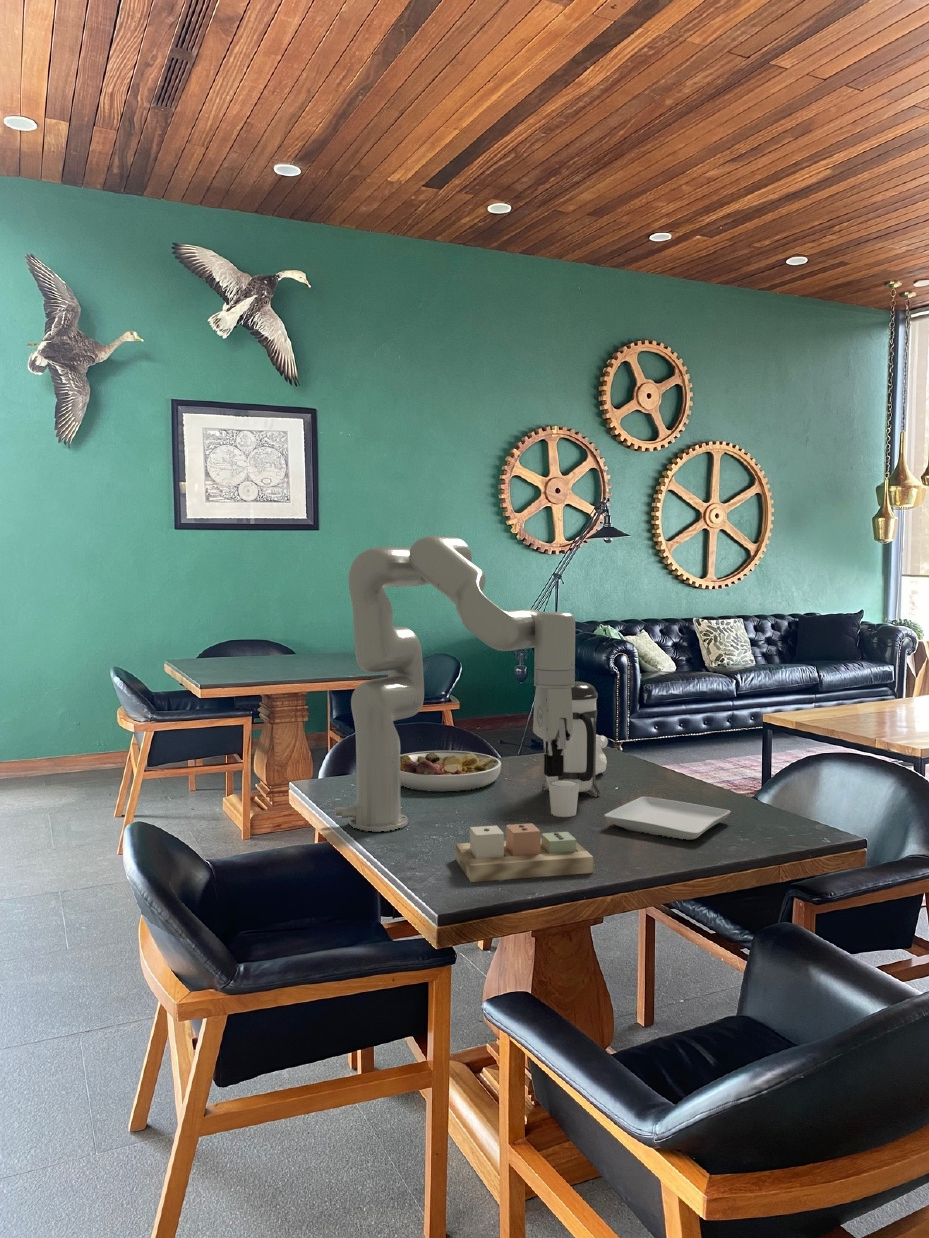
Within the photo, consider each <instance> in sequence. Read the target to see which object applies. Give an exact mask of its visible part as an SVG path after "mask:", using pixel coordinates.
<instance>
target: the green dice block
mask: <svg viewBox="0 0 929 1238" xmlns="http://www.w3.org/2000/svg"><path fill="white" fill-rule="evenodd" d="M576 842H577V839H576V838H575V837H574V836H573V835H571V833H570V832H568V831H561V832H560V831H557V832H543V833H542V832H541V847H542V848H543V849H544V850H545V851H546V852H547V853H548V854H550V853H564V852H576Z"/></svg>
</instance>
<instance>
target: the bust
mask: <svg viewBox="0 0 929 1238" xmlns="http://www.w3.org/2000/svg"><path fill="white" fill-rule="evenodd" d="M608 743H609V740H608V738H607V737H606V736H604V735H602V734H601V735H599V734H596V775H595V776H597V775H599V774H602V773H603V772H605V771H606V769H607V764H608V762H607V760H608V759H607V757H606V755H605V753H604V751H603V750H602V748H603V749H604V748H606V747H607V746H608Z"/></svg>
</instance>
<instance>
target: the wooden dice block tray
mask: <svg viewBox="0 0 929 1238" xmlns="http://www.w3.org/2000/svg"><path fill="white" fill-rule="evenodd" d="M455 861H456V862H457V863H458V865H459V866H460V868H461V870H462V871H463V872H464V874H465V875H466V877H467V879H469V881H470V883H475V882H485V881H486V882H489V881H500V880H503V881H504V880H516V879H517V880H518V879H526V878H527V879H528V878H529V879H530V878H541V877H542V878H543V877H554V876H556V877H557V876H568V875H580V874H581V875H582V874H583V875H584V874H593V873H594V856H593V855H592V854H591V853H590V852H588V850H587V849H585V848H584V847H583V846H582V845H581V844H580V843H578V842H577V841H576V852H564V853H550V854H548V853H547V852H546V851H545V850H544V849H543V848H542V847H541V841H540V854H536V855H521V856H511V855H510V853H509V852H508V851H507V850H506V839H504V857H492V858H478V859H474V857H473V856H472V854H471V853H470V842H461V843H455Z"/></svg>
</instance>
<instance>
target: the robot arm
mask: <svg viewBox="0 0 929 1238" xmlns="http://www.w3.org/2000/svg"><path fill="white" fill-rule="evenodd" d="M472 562H473V556H472V551H471V549H470V547H469V546H468V544H467V543H466V542H465V541H464V540H463V539H461V538H459V537H456V536H442V535H441V536H439V535H438V536H437V535H429V536H424V537H421V538H419V539H417V540H416V541H415V542H413V544H412V545H411V546H410V547H404V546H403V547H401V546H400V547H399V546H377V547H373V548H367V549H366V550H363V551H362V552H360V553H359V554H358V555H357V556H356V557H355V558H354V560H353V561H352V563H351V566H350V568H349V571H348V590H349V596H350V600H351V606H352V615H353V617H352V621H353V622H352V623H353V624H352V625H353V640H354V652H355V653H354V654H355V660H356V663H357V666H358V667H359V668H360V670H362V671H363V672H366V673H372V674H373V673H374V674H375V673H383V672H384V673H385V672H387V673H388V674H387V675H388V676H387V677H386V676H385V677H381V678H374V679H370V680H367V681H366V680H365V681H364V682H361V684H359V685H358V686H356V688H355V689H354V690H353V692H352V695H351V699H350V706H351V713H352V718H353V722H354V723H353V724H354V729H355V733H354V734H355V754H356V756H355V759H356V769H355V770H356V775H355V779H356V781H355V782H356V801H353V805H352V804H351V805H349V807H346V806H345V807H343V806H340V807H339V806H338V807H334V817H335V818H336V817H337V818H338V817H341V818H342V819H347V818H349V821H348V822H349V824H350V825H351V826H352V827H353V828H352V827H351V826H350V825H349V824H348V825H349V826H350V827H351V828H352V829H354V828H358V829H361V830H365V831H364V832H368V831H372V832H373V833H374V832H375V833H376V832H377V833H381V831H384V832H391V831H390V830H392V831H396V830H395V829H397V830H399V829H398V828H400V829H402V828H405V827H406V826H407V825H408V823H409V821H408V820H409V819H408V816H407V815H405V814H403V813H401V810H402V809H401V802H402V801H401V791H402V790H401V789H402V788H401V787H402V786H401V784H400V755H401V739H400V736H399V734H398V733H399V732H398V730H397V728H396V726H395V724H394V722H395V721H398V720H404V719H407V718H411V717H414V716H415V715H417V714H418V713H419V712H420V710H421V709H422V707H423V705H424V701H425V699H424V698H425V681H424V663H423V650H422V645H421V643H420V640H419V638H418V636H417V635H416V633H415V632H414V631H412V630H411V629H410V628H408V627H405V626H394V613H393V612H394V611H393V606H392V602H391V600H390V598H389V596H388V594H387V593H386V591H385V589H387V588H399V587H400V588H402V587H410V588H411V587H419V586H424V585H428V584H430V585H431V586H433V587H434V588H435V589H436V590H437V591H439V593H441V594H442V595H443V596H445V598H447V599H449V600H450V602H452V603H453V605H454V604H455V609H456V612H457V615H458V616H459V619H460V621H461V622H462V624H463V625H464V627H465V628H466V629H467V630H468V631H469V632H470V633H471V634H473V635H474V636H475V637H476V638H478V639H479V640H480V641H481V642H482V643H484V644H485V645H487V646H488V647H490V648H492V649H494V650H496V651H500V652H507V651H508V652H509V651H514V650H523V649H531V648H533V649H534V664H533V665H534V669H533V670H534V672H533V673H534V674H533V675H534V676H533V680H534V681H533V682H534V683H533V686H534V687H535V693H534V704H533V718H532V720H533V722H532V732H533V733H534V734H535V735H536V736H537V737H538V738H539V739H542V740H543V753H544V754H543V760H544V761H543V762H544V763H543V774H544V775H545V776H548V777H554V776H562V775H563V754H564V749H566V741H569V740H570V739H571V738H572V731H573V711H572V693H571V688H572V687H575V680H576V679H575V674H576V673H575V671H576V665H575V664H576V619H575V617H574V615H573V614H572V613H570V612H565V611H540V610H536V609H531V608H529V609H510V610H509V609H508V610H505V609H504V610H503V609H502V608H500V607H499V606H498V605H496V604H495V603H494V602H493V601H491V600H490V599H489V598H488V597H487V596H486V595H485V594H484V593H483V591H484V590H485V589H484V588H485V586H486V581H487V579H486V578H487V577H486V575H485V574H486V573H484V571H483V570H482V569H480V568H479V567H478V566H477V565H475V564H474V563H472ZM546 753H547V754H546ZM361 830H360V831H361ZM372 832H371V833H372Z"/></svg>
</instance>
